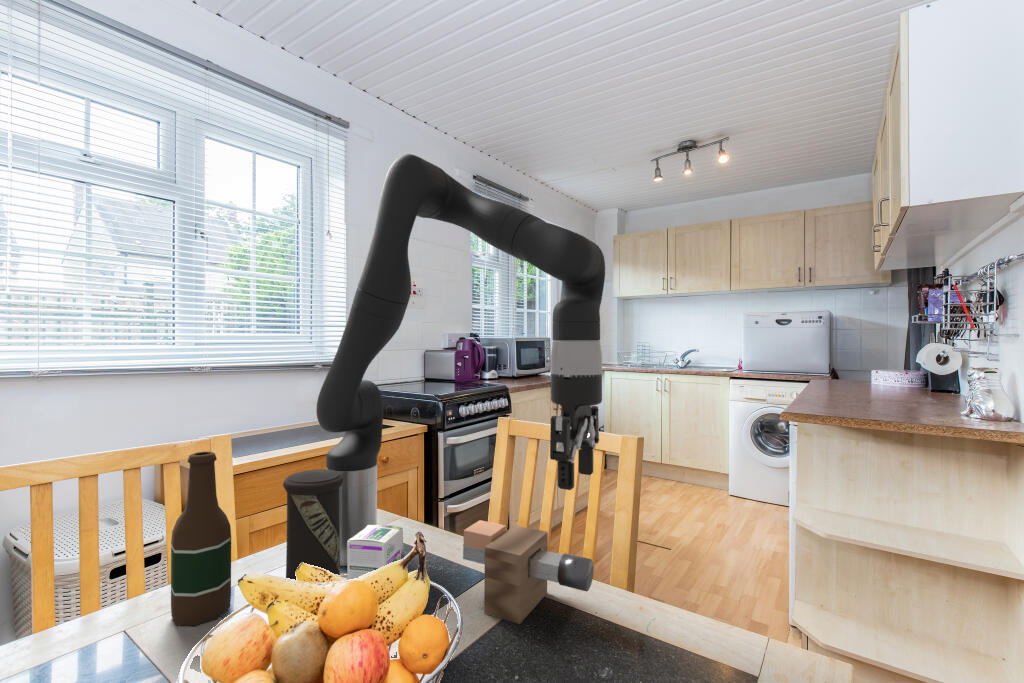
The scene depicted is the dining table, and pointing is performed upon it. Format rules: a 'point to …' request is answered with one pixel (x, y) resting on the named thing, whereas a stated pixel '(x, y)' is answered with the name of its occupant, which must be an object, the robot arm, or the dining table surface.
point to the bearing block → (513, 574)
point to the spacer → (482, 534)
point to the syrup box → (373, 549)
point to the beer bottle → (200, 550)
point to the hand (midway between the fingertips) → (576, 481)
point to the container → (313, 520)
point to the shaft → (550, 567)
